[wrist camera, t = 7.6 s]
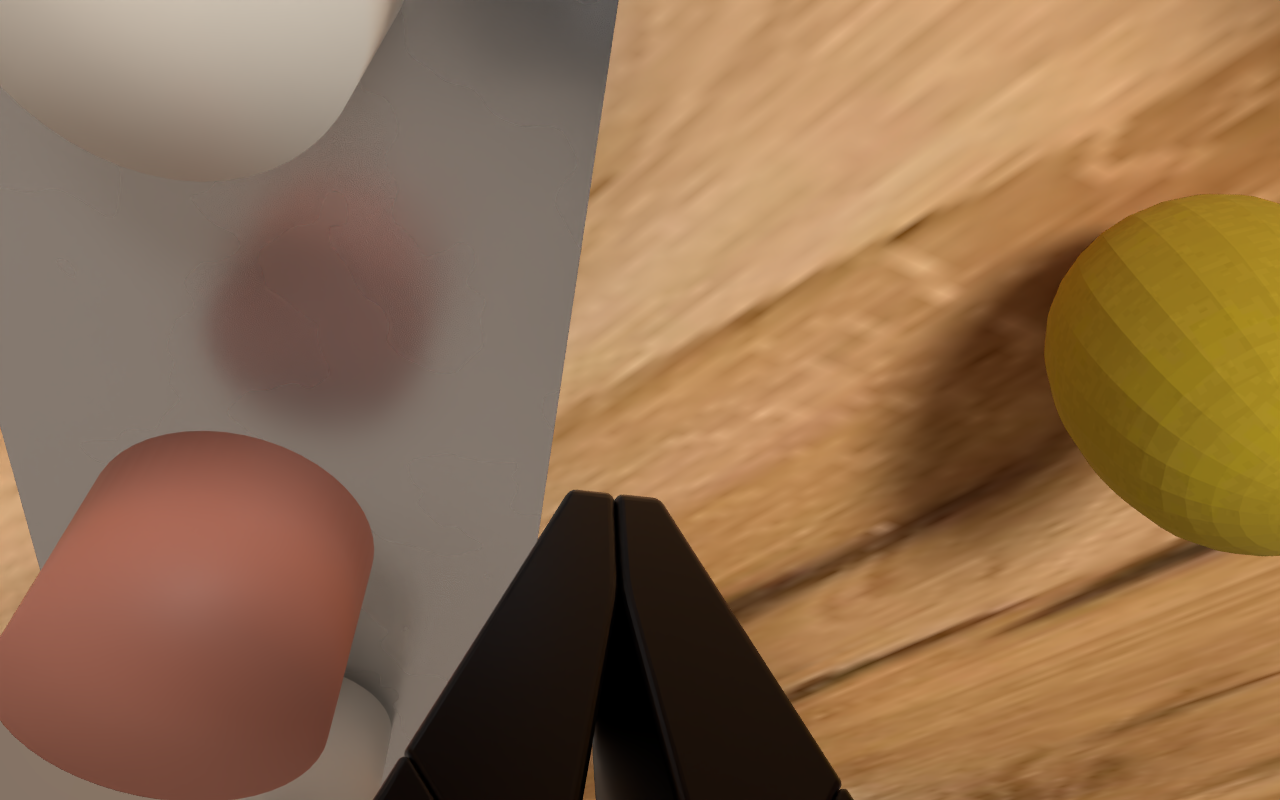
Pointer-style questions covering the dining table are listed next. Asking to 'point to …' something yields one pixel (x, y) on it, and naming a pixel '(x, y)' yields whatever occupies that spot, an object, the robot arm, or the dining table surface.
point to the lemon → (1179, 366)
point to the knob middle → (191, 621)
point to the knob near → (189, 77)
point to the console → (332, 312)
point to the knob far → (345, 753)
